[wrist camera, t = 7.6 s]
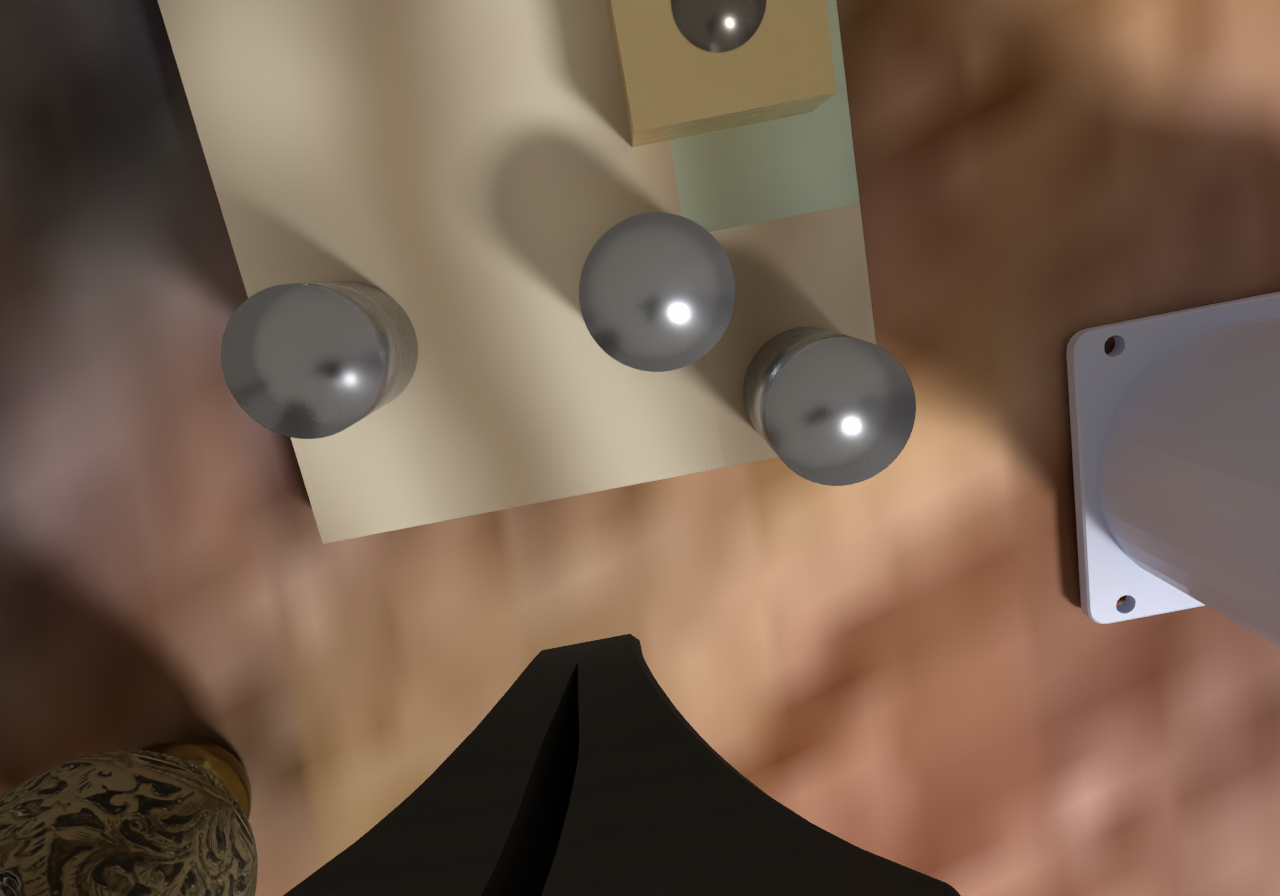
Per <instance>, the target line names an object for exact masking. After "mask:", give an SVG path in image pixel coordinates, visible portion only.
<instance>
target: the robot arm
mask: <svg viewBox="0 0 1280 896" xmlns="http://www.w3.org/2000/svg"><path fill="white" fill-rule="evenodd" d="M1112 336H1113V337H1114V340H1115V346H1114V349H1113V350H1112V351H1111V352H1110V353H1108V354H1106V353H1105V350H1104V345H1105V342H1106V341H1107V339H1108V338H1109V337H1112ZM1066 354H1067V372H1068V389H1069V406H1070V423H1071V441H1072V458H1073V475H1074V493H1075V510H1076V527H1077V544H1078V562H1079V579H1080V596H1081V607H1082V611H1083V613H1084V614H1085V615H1086V616H1087V617H1088V618H1090V619H1091V620H1092V621H1094V622H1096V623H1099V624H1109V623H1114V622H1120V621H1125V620H1130V619H1136V618H1141V617H1147V616H1152V615H1157V614H1163V613H1168V612H1173V611H1179V610H1184V609H1189V608H1195V607H1200V606H1205V605H1206V606H1208V607H1210V608H1211V609H1213V610H1215V611H1217V612H1218V613H1220V614H1222V615H1224V616H1225V617H1227V618H1229V619H1231V620H1232V621H1234V622H1236V623H1238V624H1239V625H1241V626H1243V627H1244V628H1246V629H1248V630H1250V631H1251V632H1253V633H1255V634H1257V635H1258V636H1260V637H1262V638H1264V639H1265V640H1267V641H1269V642H1271V643H1272V644H1274V645H1276V646H1278V647H1279V648H1280V291H1279V292H1273V293H1268V294H1263V295H1258V296H1253V297H1247V298H1242V299H1237V300H1232V301H1227V302H1221V303H1216V304H1211V305H1206V306H1201V307H1195V308H1190V309H1185V310H1180V311H1175V312H1169V313H1164V314H1159V315H1154V316H1148V317H1143V318H1138V319H1133V320H1128V321H1122V322H1117V323H1112V324H1107V325H1102V326H1096V327H1091V328H1086V329H1083V330H1080V331H1078V332H1077V333H1076V334H1074V335H1073V336H1072V337H1071V339H1070V341H1069V342H1068V344H1067V351H1066ZM1125 595H1126V599H1125V602H1124V603H1123V604H1122V605H1120V606H1118V607H1116V603H1117V601H1118V600H1119V598H1120V597H1122V596H1125ZM283 896H960V894H959V893H958V892H957V891H956V890H955V889H954V888H953V887H952V886H950V885H949V884H947V883H945V882H942V881H940V880H937V879H935V878H932V877H930V876H927V875H925V874H922V873H920V872H917V871H915V870H912V869H910V868H907V867H905V866H903V865H900V864H898V863H895V862H893V861H890V860H888V859H885V858H883V857H880V856H878V855H875V854H873V853H870V852H868V851H865V850H863V849H861V848H859V847H856V846H854V845H852V844H850V843H848V842H846V841H844V840H843V839H841V838H839V837H837V836H835V835H833V834H831V833H829V832H827V831H825V830H823V829H821V828H819V827H817V826H816V825H814V824H812V823H810V822H809V821H807V820H806V819H804V818H802V817H801V816H799V815H798V814H796V813H795V812H793V811H792V810H790V809H788V808H787V807H785V806H784V805H782V804H781V803H779V802H777V801H776V800H774V799H773V798H771V797H770V796H768V795H767V794H766V793H764V792H763V791H762V790H761V789H759V788H758V787H757V786H755V785H754V784H753V783H752V782H750V781H749V780H748V779H747V778H745V777H744V776H743V775H741V774H740V773H739V772H738V771H737V770H736V769H734V768H733V767H732V766H731V765H730V764H729V763H728V762H726V761H725V760H724V759H723V758H722V757H721V756H720V755H719V754H718V753H717V752H716V751H715V750H714V749H712V748H711V747H710V746H709V745H708V743H707V742H706V741H705V740H704V739H703V738H702V737H701V736H700V735H699V734H698V733H697V732H696V731H695V730H694V729H693V727H692V726H691V725H690V724H689V723H688V722H687V721H686V720H685V718H684V717H683V716H682V715H681V714H680V712H679V711H678V710H677V709H676V707H675V706H674V705H673V703H672V702H671V701H670V699H669V698H668V697H667V695H666V694H665V692H664V691H663V690H662V688H661V687H660V686H659V684H658V683H657V681H656V679H655V678H654V676H653V675H652V673H651V671H650V669H649V667H648V666H647V664H646V662H645V660H644V658H643V655H642V650H641V645H640V641H639V640H638V639H637V638H635V637H634V636H632V635H631V634H627V635H622V636H616V637H611V638H606V639H600V640H595V641H590V642H584V643H579V644H574V645H568V646H563V647H558V648H552V649H547V650H542V651H541V652H540V653H539V654H538V655H537V656H536V657H535V658H534V659H533V660H532V662H531V663H530V664H529V665H528V666H527V668H526V669H525V670H524V671H523V673H522V674H521V675H520V676H519V677H518V679H517V680H516V681H515V682H514V684H513V685H512V686H511V687H510V688H509V690H508V691H507V692H506V693H505V694H504V696H503V697H502V698H501V699H500V700H499V702H498V703H497V704H496V705H495V706H494V707H493V709H492V710H491V711H490V712H489V713H488V714H487V716H486V717H485V718H484V719H483V720H482V722H481V723H480V724H479V725H478V726H477V727H476V728H475V730H474V731H473V732H472V733H471V734H470V735H469V736H468V737H467V738H466V739H465V740H464V741H463V742H462V743H461V744H460V745H459V746H458V747H457V748H456V749H455V751H454V752H453V753H452V754H451V755H450V756H449V757H448V758H447V759H446V760H445V761H444V762H443V763H442V764H441V765H440V766H439V767H438V768H437V769H436V771H435V772H434V773H433V774H432V775H431V776H430V777H429V778H428V779H427V780H426V781H425V782H424V783H422V784H421V785H420V786H419V787H418V788H417V789H416V790H415V791H414V792H413V793H412V794H411V795H410V796H409V797H408V798H406V799H405V800H404V801H403V802H402V803H401V804H400V805H399V806H398V807H396V808H395V809H394V810H393V811H392V812H391V813H389V814H388V815H387V816H386V817H385V818H384V819H382V820H381V821H380V822H379V823H378V824H377V825H375V826H374V827H373V828H372V829H371V830H370V831H368V832H367V833H366V834H365V835H363V836H362V837H361V838H360V839H359V840H357V841H356V842H355V843H354V844H352V845H351V846H350V847H348V848H347V849H346V850H344V851H343V852H341V853H340V854H339V855H337V856H336V857H335V858H333V859H332V860H331V861H329V862H328V863H327V864H325V865H324V866H323V867H321V868H320V869H318V870H317V871H316V872H314V873H313V874H312V875H310V876H309V877H308V878H306V879H305V880H304V881H302V882H301V883H300V884H298V885H297V886H295V887H294V888H293V889H291V890H290V891H289V892H287V893H286V894H285V895H283Z"/></svg>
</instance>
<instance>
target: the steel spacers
mask: <svg viewBox="0 0 1280 896" xmlns="http://www.w3.org/2000/svg"><path fill="white" fill-rule="evenodd" d="M579 302H580V309H581V313H582V316H583V320H584V322H585V324H586V327H587V329H588V331H589V333H590V334H591V336H592V338H593V339H594V340H595V342H596V343H597V344H598V345H599V346H600V347H601V348H602V349H603V350H604V352H605V353H607V354H608V355H609V356H611V357H612V358H613V359H615V360H616V361H618V362H620V363H622V364H624V365H626V366H629V367H631V368H634V369H638V370H642V371H649V372H664V371H671V370H675V369H679V368H682V367H685V366H687V365H690V364H691V363H693V362H695V361H697V360H699V359H700V358H701V357H703V356H704V355H705V354H707V353H708V352H709V351H710V350H711V349H712V348H713V347H714V346H715V345H716V343H717V342H718V341H719V340H720V338H721V337H722V335H723V333H724V332H725V330H726V328H727V326H728V324H729V321H730V319H731V316H732V312H733V308H734V302H735V282H734V276H733V271H732V268H731V265H730V262H729V259H728V257H727V255H726V253H725V252H724V250H723V248H722V247H721V245H720V244H719V243H718V241H717V240H716V239H715V238H714V237H713V236H712V235H711V234H710V233H709V232H708V231H707V230H706V229H704V228H703V227H702V226H700V225H699V224H697V223H695V222H694V221H692V220H690V219H687V218H685V217H682V216H679V215H675V214H670V213H661V212H652V213H644V214H640V215H636V216H632V217H630V218H628V219H625V220H623V221H621V222H620V223H618V224H616V225H614V226H613V227H612V228H610V229H609V230H608V231H607V232H605V233H604V234H603V235H602V236H601V238H600V239H599V240H598V241H597V242H596V243H595V245H594V246H593V248H592V249H591V251H590V253H589V254H588V256H587V258H586V261H585V263H584V266H583V269H582V273H581V276H580V283H579ZM221 361H222V369H223V373H224V377H225V380H226V382H227V385H228V387H229V389H230V391H231V393H232V395H233V397H234V398H235V400H236V401H237V402H238V404H239V405H240V406H241V408H242V409H243V410H244V411H245V412H246V413H247V414H248V415H249V416H250V417H251V418H253V419H254V420H255V421H256V422H258V423H259V424H261V425H262V426H264V427H266V428H267V429H269V430H271V431H273V432H276V433H278V434H281V435H284V436H288V437H292V438H299V439H316V438H323V437H327V436H331V435H334V434H336V433H339V432H341V431H343V430H345V429H346V428H348V427H350V426H351V425H353V424H355V423H356V422H358V421H360V420H361V419H363V418H365V417H366V416H368V415H370V414H371V413H373V412H375V411H376V410H378V409H380V408H381V407H383V406H385V405H386V404H388V403H390V402H391V401H393V400H394V399H395V398H397V397H398V396H399V395H400V394H401V393H402V392H403V391H404V390H405V388H406V387H407V386H408V384H409V383H410V381H411V379H412V377H413V375H414V372H415V369H416V365H417V361H418V342H417V337H416V333H415V330H414V327H413V325H412V323H411V320H410V318H409V317H408V315H407V314H406V312H405V311H404V309H403V308H402V307H401V306H400V304H399V303H398V302H396V301H395V300H394V299H393V298H392V297H391V296H390V295H388V294H387V293H385V292H384V291H382V290H380V289H378V288H376V287H374V286H372V285H369V284H366V283H362V282H356V281H331V282H312V283H294V284H283V285H276V286H273V287H269V288H266V289H264V290H261V291H259V292H257V293H256V294H254V295H252V296H251V297H249V298H248V299H247V300H246V301H244V302H243V303H242V304H241V305H240V306H239V307H238V308H237V310H236V311H235V312H234V314H233V315H232V317H231V318H230V320H229V322H228V324H227V326H226V329H225V332H224V335H223V340H222V346H221ZM743 402H744V407H745V411H746V413H747V416H748V418H749V420H750V422H751V424H752V425H753V427H754V428H755V429H756V431H757V432H758V433H759V434H760V435H761V436H762V438H763V439H764V440H765V441H766V442H767V443H768V445H769V446H770V447H771V448H772V449H773V451H774V452H775V453H776V454H777V455H778V456H779V458H780V459H781V460H782V461H783V462H784V463H785V464H786V465H787V466H788V467H789V468H790V469H791V470H792V471H794V472H795V473H796V474H798V475H800V476H801V477H803V478H805V479H807V480H810V481H812V482H815V483H819V484H823V485H831V486H842V485H850V484H854V483H858V482H861V481H864V480H866V479H869V478H871V477H873V476H874V475H876V474H878V473H879V472H881V471H882V470H884V469H885V468H886V467H888V466H889V465H890V464H891V463H892V462H893V461H894V460H895V459H896V458H897V456H898V455H899V454H900V453H901V451H902V450H903V448H904V447H905V445H906V443H907V441H908V439H909V437H910V434H911V432H912V429H913V425H914V420H915V412H916V402H915V394H914V389H913V386H912V383H911V380H910V378H909V376H908V374H907V372H906V371H905V369H904V368H903V366H902V365H901V364H900V362H899V361H898V360H897V359H896V358H895V357H894V356H893V355H891V354H890V353H889V352H888V351H886V350H885V349H883V348H882V347H880V346H878V345H875V344H873V343H871V342H868V341H864V340H861V339H858V338H854V337H851V336H848V335H844V334H841V333H838V332H834V331H831V330H827V329H824V328H819V327H798V328H793V329H790V330H787V331H784V332H782V333H780V334H778V335H776V336H774V337H773V338H771V339H770V340H769V341H767V342H766V343H765V344H764V345H763V346H762V347H761V348H760V349H759V350H758V351H757V353H756V354H755V355H754V357H753V359H752V360H751V362H750V364H749V366H748V368H747V371H746V374H745V377H744V383H743Z"/></svg>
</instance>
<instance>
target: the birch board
mask: <svg viewBox="0 0 1280 896" xmlns="http://www.w3.org/2000/svg"><path fill="white" fill-rule="evenodd" d="M157 1H158V4H159V7H160V10H161V14H162V17H163V20H164V24H165V27H166V30H167V33H168V37H169V40H170V43H171V47H172V50H173V53H174V56H175V60H176V63H177V66H178V69H179V73H180V76H181V79H182V83H183V86H184V89H185V92H186V96H187V99H188V102H189V106H190V109H191V112H192V115H193V119H194V122H195V125H196V129H197V132H198V135H199V138H200V142H201V145H202V148H203V152H204V155H205V158H206V161H207V165H208V168H209V171H210V175H211V178H212V181H213V184H214V188H215V191H216V194H217V198H218V201H219V204H220V207H221V211H222V214H223V217H224V221H225V224H226V227H227V230H228V234H229V237H230V240H231V244H232V247H233V250H234V253H235V257H236V260H237V263H238V267H239V270H240V273H241V276H242V280H243V283H244V286H245V290H246V293H247V296H248V298H249V297H251V296H252V295H254V294H256V293H257V292H259V291H261V290H264V289H266V288H269V287H273V286H276V285H283V284H294V283H312V282H331V281H356V282H362V283H366V284H369V285H372V286H374V287H376V288H378V289H380V290H382V291H384V292H385V293H387V294H388V295H390V296H391V297H392V298H393V299H394V300H395V301H396V302H398V303H399V304H400V306H401V307H402V308H403V309H404V311H405V312H406V314H407V315H408V317H409V318H410V320H411V323H412V325H413V327H414V330H415V333H416V337H417V342H418V361H417V365H416V369H415V372H414V375H413V377H412V379H411V381H410V383H409V384H408V386H407V387H406V388H405V390H404V391H403V392H402V393H401V394H400V395H399V396H398V397H397V398H395V399H394V400H393V401H391V402H390V403H388V404H386V405H385V406H383V407H381V408H380V409H378V410H376V411H375V412H373V413H371V414H370V415H368V416H366V417H365V418H363V419H361V420H360V421H358V422H356V423H355V424H353V425H351V426H350V427H348V428H346V429H345V430H343V431H341V432H339V433H336V434H334V435H331V436H327V437H323V438H316V439H299V438H292V437H291V441H292V444H293V447H294V450H295V454H296V457H297V460H298V464H299V467H300V470H301V473H302V477H303V480H304V483H305V487H306V490H307V493H308V496H309V500H310V503H311V506H312V510H313V513H314V516H315V519H316V523H317V526H318V529H319V533H320V536H321V539H322V542H323V544H324V543H330V542H335V541H340V540H345V539H351V538H356V537H361V536H366V535H372V534H377V533H382V532H387V531H393V530H398V529H403V528H408V527H414V526H419V525H424V524H429V523H435V522H440V521H445V520H450V519H456V518H461V517H466V516H471V515H477V514H482V513H487V512H492V511H497V510H503V509H508V508H513V507H518V506H524V505H529V504H534V503H539V502H545V501H550V500H555V499H560V498H566V497H571V496H576V495H581V494H587V493H592V492H597V491H602V490H608V489H613V488H618V487H623V486H629V485H634V484H639V483H644V482H650V481H655V480H660V479H665V478H671V477H676V476H681V475H686V474H691V473H697V472H702V471H707V470H712V469H718V468H723V467H728V466H733V465H739V464H744V463H749V462H754V461H760V460H765V459H770V458H775V457H779V456H778V455H777V454H776V453H775V452H774V451H773V449H772V448H771V447H770V446H769V445H768V443H767V442H766V441H765V440H764V439H763V438H762V436H761V435H760V434H759V433H758V432H757V431H756V429H755V428H754V427H753V425H752V424H751V422H750V420H749V418H748V416H747V413H746V411H745V407H744V402H743V383H744V377H745V374H746V371H747V368H748V366H749V364H750V362H751V360H752V359H753V357H754V355H755V354H756V353H757V351H758V350H759V349H760V348H761V347H762V346H763V345H764V344H765V343H766V342H767V341H769V340H770V339H771V338H773V337H774V336H776V335H778V334H780V333H782V332H784V331H787V330H790V329H793V328H798V327H819V328H824V329H827V330H831V331H834V332H838V333H841V334H844V335H848V336H851V337H854V338H858V339H861V340H864V341H868V342H871V343H873V344H875V345H876V337H875V329H874V320H873V312H872V303H871V294H870V286H869V277H868V268H867V260H866V251H865V243H864V234H863V225H862V217H861V208H860V200H859V191H858V182H857V174H856V165H855V156H854V148H853V139H852V131H851V122H850V113H849V105H848V96H847V87H846V79H845V70H844V62H843V53H842V44H841V36H840V27H839V18H838V10H837V1H836V0H826V7H827V15H828V23H829V32H830V40H831V49H832V57H833V65H834V74H835V82H836V91H837V92H836V93H835V94H834V95H833V96H831V97H830V98H829V99H828V100H826V101H825V102H824V103H823V104H821V105H820V106H819V107H817V108H816V109H815V110H814V111H812V112H811V113H806V114H801V115H795V116H790V117H785V118H780V119H775V120H770V121H765V122H760V123H755V124H750V125H745V126H740V127H735V128H729V129H724V130H719V131H714V132H709V133H704V134H699V135H694V136H689V137H684V138H679V139H674V140H668V141H663V142H658V143H653V144H648V145H643V146H638V147H633V148H632V143H631V138H630V132H629V126H628V121H627V115H626V110H625V104H624V99H623V93H622V88H621V82H620V76H619V71H618V65H617V60H616V54H615V49H614V43H613V38H612V32H611V27H610V21H609V15H608V10H607V4H606V0H157ZM652 212H661V213H670V214H675V215H679V216H682V217H685V218H687V219H690V220H692V221H694V222H695V223H697V224H699V225H700V226H702V227H703V228H704V229H706V230H707V231H708V232H709V233H710V234H711V235H712V236H713V237H714V238H715V239H716V240H717V241H718V243H719V244H720V245H721V247H722V248H723V250H724V252H725V253H726V255H727V257H728V259H729V262H730V265H731V268H732V271H733V276H734V282H735V302H734V308H733V312H732V316H731V319H730V321H729V324H728V326H727V328H726V330H725V332H724V333H723V335H722V337H721V338H720V340H719V341H718V342H717V343H716V345H715V346H714V347H713V348H712V349H711V350H710V351H709V352H708V353H707V354H705V355H704V356H703V357H701V358H700V359H699V360H697V361H695V362H693V363H691V364H690V365H687V366H685V367H682V368H679V369H675V370H671V371H664V372H649V371H642V370H638V369H634V368H631V367H629V366H626V365H624V364H622V363H620V362H618V361H616V360H615V359H613V358H612V357H611V356H609V355H608V354H607V353H605V352H604V350H603V349H602V348H601V347H600V346H599V345H598V344H597V343H596V342H595V340H594V339H593V338H592V336H591V334H590V333H589V331H588V329H587V327H586V324H585V322H584V320H583V316H582V313H581V309H580V302H579V283H580V276H581V273H582V269H583V266H584V263H585V261H586V258H587V256H588V254H589V253H590V251H591V249H592V248H593V246H594V245H595V243H596V242H597V241H598V240H599V239H600V238H601V236H602V235H603V234H604V233H605V232H607V231H608V230H609V229H610V228H612V227H613V226H614V225H616V224H618V223H620V222H621V221H623V220H625V219H628V218H630V217H632V216H636V215H640V214H644V213H652Z"/></svg>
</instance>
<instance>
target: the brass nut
mask: <svg viewBox="0 0 1280 896" xmlns="http://www.w3.org/2000/svg"><path fill="white" fill-rule="evenodd" d="M606 4H607V10H608V15H609V21H610V27H611V32H612V38H613V43H614V49H615V54H616V60H617V65H618V71H619V76H620V82H621V88H622V93H623V99H624V104H625V110H626V115H627V121H628V126H629V132H630V138H631V143H632V148H633V147H638V146H643V145H648V144H653V143H658V142H663V141H668V140H674V139H679V138H684V137H689V136H694V135H699V134H704V133H709V132H714V131H719V130H724V129H729V128H735V127H740V126H745V125H750V124H755V123H760V122H765V121H770V120H775V119H780V118H785V117H790V116H795V115H801V114H806V113H811V112H812V111H814V110H815V109H816V108H817V107H819V106H820V105H821V104H823V103H824V102H825V101H826V100H828V99H829V98H830V97H831V96H833V95H834V94H835V93H836V92H837V91H836V82H835V74H834V65H833V57H832V49H831V40H830V32H829V23H828V15H827V7H826V0H606Z"/></svg>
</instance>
